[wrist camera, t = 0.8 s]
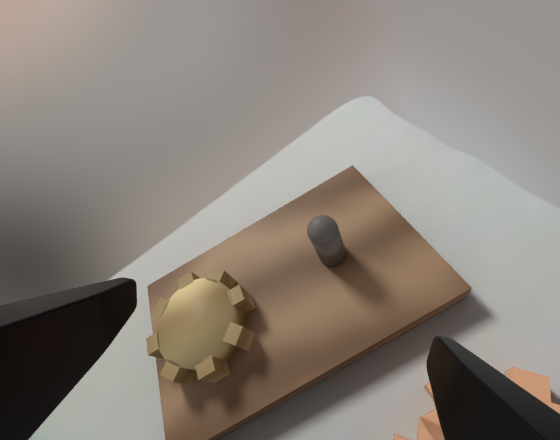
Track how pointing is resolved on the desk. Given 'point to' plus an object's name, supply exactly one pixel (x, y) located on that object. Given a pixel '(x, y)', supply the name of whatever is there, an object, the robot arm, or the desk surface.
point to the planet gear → (534, 383)
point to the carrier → (289, 305)
